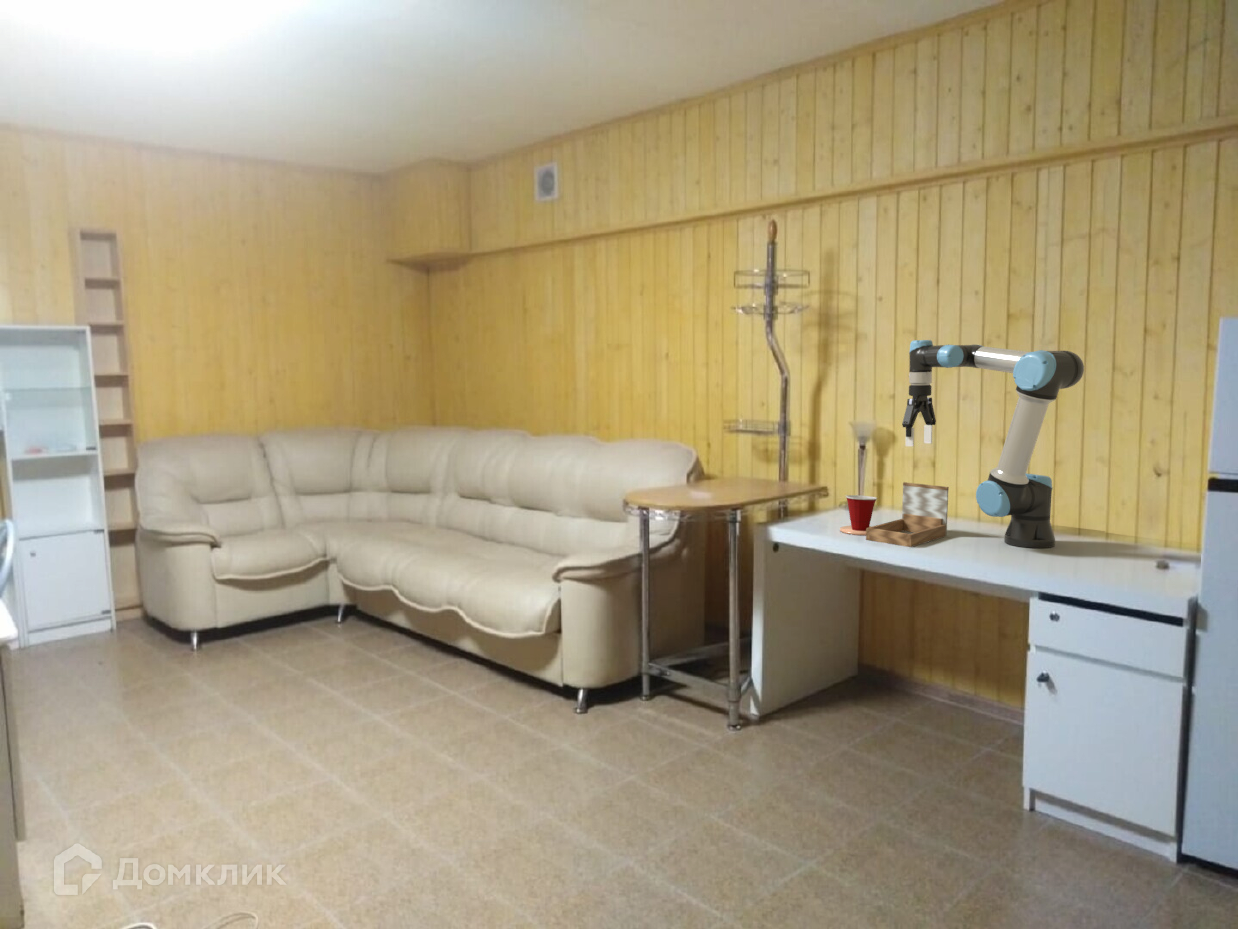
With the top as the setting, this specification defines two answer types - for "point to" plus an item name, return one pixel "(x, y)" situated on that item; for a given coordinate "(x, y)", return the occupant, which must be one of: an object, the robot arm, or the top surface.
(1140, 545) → the top surface
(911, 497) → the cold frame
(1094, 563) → the top surface
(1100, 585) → the top surface
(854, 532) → the saucer
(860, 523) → the plastic cup
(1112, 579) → the top surface
